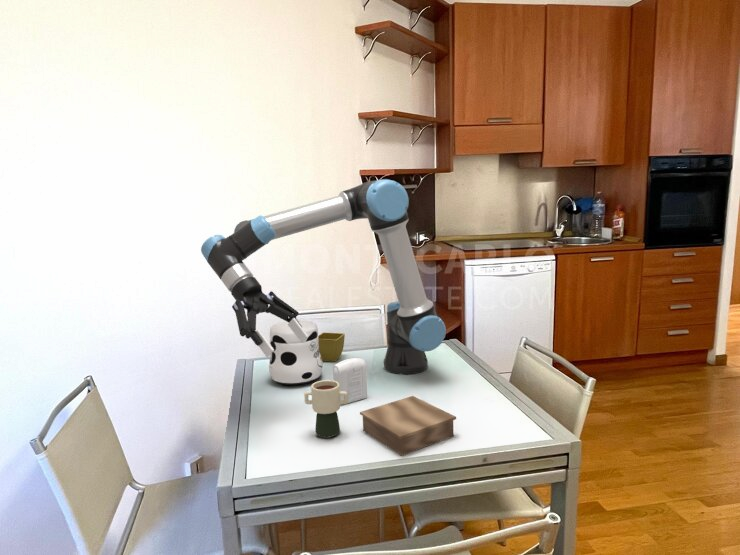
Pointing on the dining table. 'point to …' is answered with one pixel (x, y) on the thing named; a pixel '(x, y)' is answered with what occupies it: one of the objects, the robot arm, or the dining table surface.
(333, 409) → the character mug
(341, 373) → the photo printer
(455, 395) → the dining table surface
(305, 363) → the milk container
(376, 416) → the walnut stand
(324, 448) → the dining table surface
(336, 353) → the flower pot
